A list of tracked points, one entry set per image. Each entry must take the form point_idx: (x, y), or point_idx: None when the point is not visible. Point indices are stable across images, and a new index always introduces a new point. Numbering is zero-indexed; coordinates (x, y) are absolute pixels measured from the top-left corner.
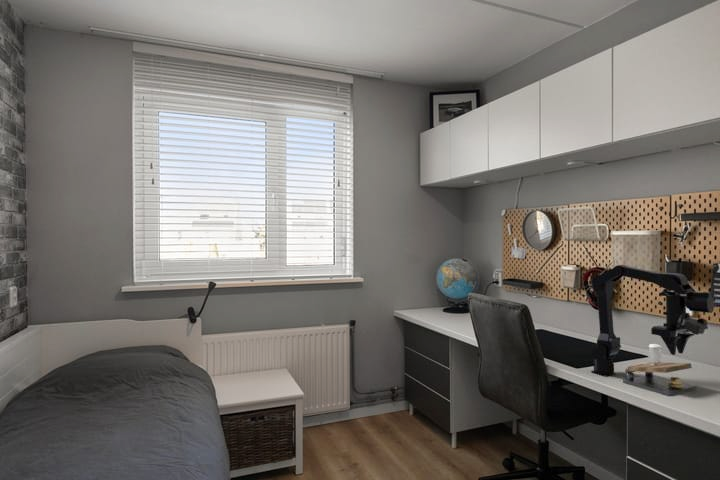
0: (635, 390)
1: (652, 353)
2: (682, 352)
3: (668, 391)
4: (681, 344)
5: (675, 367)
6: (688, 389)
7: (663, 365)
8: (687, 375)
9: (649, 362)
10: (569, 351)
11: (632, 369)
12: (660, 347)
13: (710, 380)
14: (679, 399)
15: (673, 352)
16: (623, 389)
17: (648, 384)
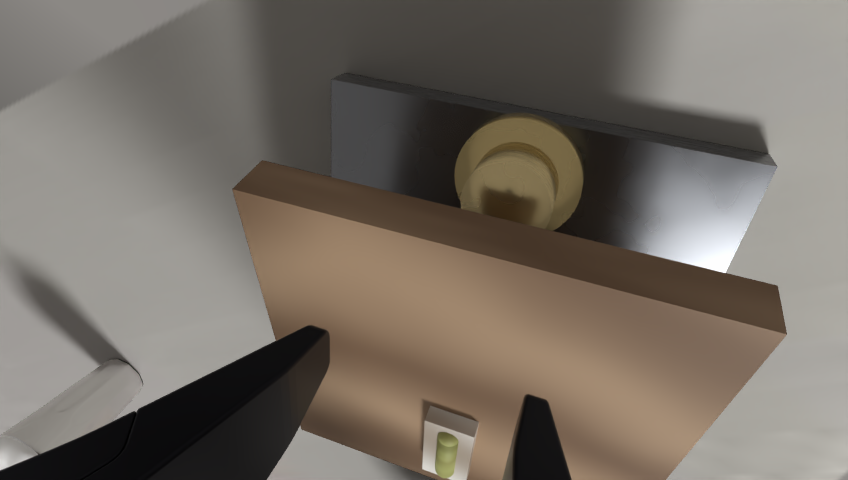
0: (789, 366)
1: None
2: (310, 334)
3: (729, 173)
4: (213, 468)
5: (547, 261)
6: (448, 96)
7: (475, 368)
8: (116, 222)
9: (447, 462)
10: None
11: None
12: (10, 443)
13: (72, 94)
14: (818, 43)
15: (555, 447)
16: (833, 428)
17: None
